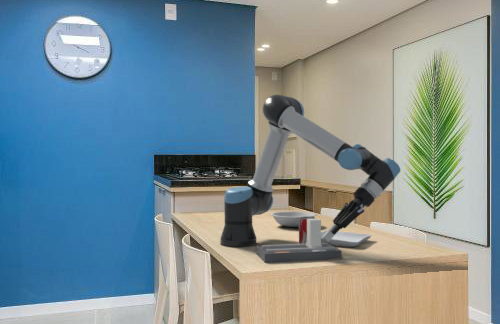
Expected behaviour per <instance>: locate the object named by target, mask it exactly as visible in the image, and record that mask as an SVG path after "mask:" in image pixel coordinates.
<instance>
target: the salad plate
mask: <svg viewBox="0 0 500 324" xmlns="http://www.w3.org/2000/svg"><path fill="white" fill-rule="evenodd" d="M326 232H327V230H324V231H321V243H327V244H330V245H332V246H334V247H344V248H353V247H357V246H359V245H360V244H362V243H363V242H366V241H368V240H369V239H370V238H371V237H372V234H368V233H358V232H349V231H340V230H339V231H338V232H337V233H336V234H335V235H334V236H333V238H332V239H331V240H330V241H329V242H327V241H326V240H325V239H324V238H323V237H322V236H323V235H324V234H325V233H326Z"/></svg>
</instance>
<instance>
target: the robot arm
mask: <svg viewBox="0 0 500 324" xmlns="http://www.w3.org/2000/svg"><path fill="white" fill-rule="evenodd" d="M262 113H263V115H264V117H265V119H266V120H267V121H268V122H267V124H268V127H269V131H268V133H267V136H266V140H265V143H264V145H263V149H262V151H261V154H260V158H259V160H258V163H257V166H256V168H255V172H254V174H253V178H252V179H251V180H248V181H247V185H246V186H236V187H235V186H234V187H230V188H227V189H225V192H224V198H223V200H224V226H223V229H222V233H221V235H220V245H222V246H226V247H235V248H236V247H238V248H239V247H251V246H255V245H257V243H258V241H257V235H256V233H255V229H254V225H253V216H258V215H262V214H265V213H268V211H270V210H271V208H272V206H273V203H274V196H273V193H274V189H273V186H272V185H273V182H274V178H275V175H276V173H277V170H278V167H279V165H280V161H281V158H282V155H283V152H284V149H285V147H286V144H287V142H288V138H289V135H291V134H294V135H295V136H298V137H299V138H300V139H301V140H303V141H305V142H307V143H308V144H310V145H311V146H312V147H314V148H316V149H317V150H319V151H321V152H322V153H323V154H325V155H327V156H328V157H330V158H331V159H333V160H335V161H336V162H337V163H338V164H339V165H340V167H341V168H343V169H345V170H348V171H354V170H361V171H363V173H365V174H366V175H368V177H367V178H366V179H365V180H363V182H362V183H361V184H360V187H359V186H358V188H357V189H356V190H355V191H354V192H353V193H352V194H353V197H354V198H353V199H352V200H351V201H349V203H348V202H345V203H344V205H343V207H342V209H341V210H340V211H339V212H338V213H337V215H336V216H335V217H334V219H333V220H332V222H333V224H332V225H331V226H330V227H329V228H328V229H327V230H326V231H327V232H326V233H325V234H324V235H323V236H322V237H323V238H324V239H325V240H326V241H327V242H329V241H330V240H331V239H332V238H333V236H334V235H335V234H336V233H337V232H338V231H339V232H340V230H342V229H346V228H347V227H348V226H349V225H350V224H351V223H352V222H354V221H355V220H356V219H357V218H359V216H360V215H362V214H363V213H364V212H365V209H364V208H365V207H367V208H368V207H370V206H371V205H372V204H373V203H374V202H375V200H376V199H377V198H378V197H381V194H382V193H383V192H384V191H385V190H386V189H388V186H390V184H391V183H392V182H393V181H394V180H395V179H396V178H397V176H398V175H399V174H400V173H401V168H400V167H401V166H399V164H398V163H397V161H395V160H393V159H391V158H389V157H387V158H385V159H380V158H379V157H378V156H377V155H375V154H374V153H372V152H371V151H370V150H368V149H367V148H366V147H365V146H363V145H361V144H359V143H357V144H355V145H353V146H352V145H350V144H348V143H347V142H346V141H344V140H342V139H340V138H339V137H337V136H336V135H334V134H333V133H331V132H330V131H327V130H326V129H324V128H323V127H321V126H320V125H318V124H316V123H315V122H313V121H311V120H310V119H309V118H307V117H305V110H304V106H303V104H302V103H301V102H300V101H299V100H298V99H297V98H294V97H291V96H286V95H282V94H272V95H270V96H269V97H267V98H266V99H265V100H264V103H263V105H262Z"/></svg>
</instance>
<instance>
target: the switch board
mask: <svg viewBox="0 0 500 324" xmlns="http://www.w3.org/2000/svg"><path fill="white" fill-rule="evenodd" d="M321 245H322V247H316V248H309V247H307V246H306V244H299V243H289V244H284V243H283V244H267V245H266V244H262V245H260V246H259V245H258V246H256V255H257V257H259V259H260V260H262V262H263V263H282V262H283V263H284V262H285V263H286V262H303V261H307V262H308V261H327V260H342V250H341V249H339V248H337V246H334V245H330V244H327V243H321Z"/></svg>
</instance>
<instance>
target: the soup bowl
mask: <svg viewBox="0 0 500 324" xmlns="http://www.w3.org/2000/svg"><path fill="white" fill-rule="evenodd" d="M270 216H271V217H273V219H274V220H275V222H277V224H279V225H280V226H284V227H290V228H297V227H298V228H299V221H300V219H301V217H306V216H308V217H317V216H318V214H317V213H314V212H309V211H293V210H291V211H289V210H288V211H274V212H271V213H270Z"/></svg>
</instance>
